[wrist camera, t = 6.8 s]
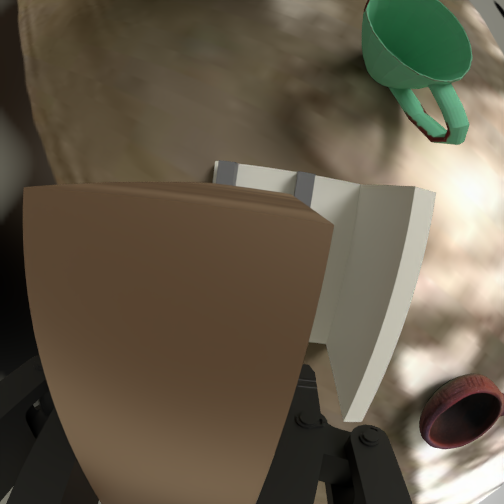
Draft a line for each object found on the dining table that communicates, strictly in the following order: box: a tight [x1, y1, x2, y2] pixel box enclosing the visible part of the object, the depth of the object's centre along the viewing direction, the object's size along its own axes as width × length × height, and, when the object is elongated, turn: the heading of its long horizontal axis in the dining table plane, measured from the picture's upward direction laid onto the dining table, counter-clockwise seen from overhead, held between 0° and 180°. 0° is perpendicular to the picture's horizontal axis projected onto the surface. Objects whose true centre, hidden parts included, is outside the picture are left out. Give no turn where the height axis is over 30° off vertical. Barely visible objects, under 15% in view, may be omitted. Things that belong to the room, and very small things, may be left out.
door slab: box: [23, 182, 334, 504], centre depth 10 cm, size 14×4×12 cm, turn 172°
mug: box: [362, 0, 472, 145], centre depth 19 cm, size 15×10×10 cm
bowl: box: [419, 374, 504, 449], centre depth 28 cm, size 16×13×8 cm
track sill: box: [213, 160, 436, 422], centre depth 23 cm, size 17×16×13 cm
